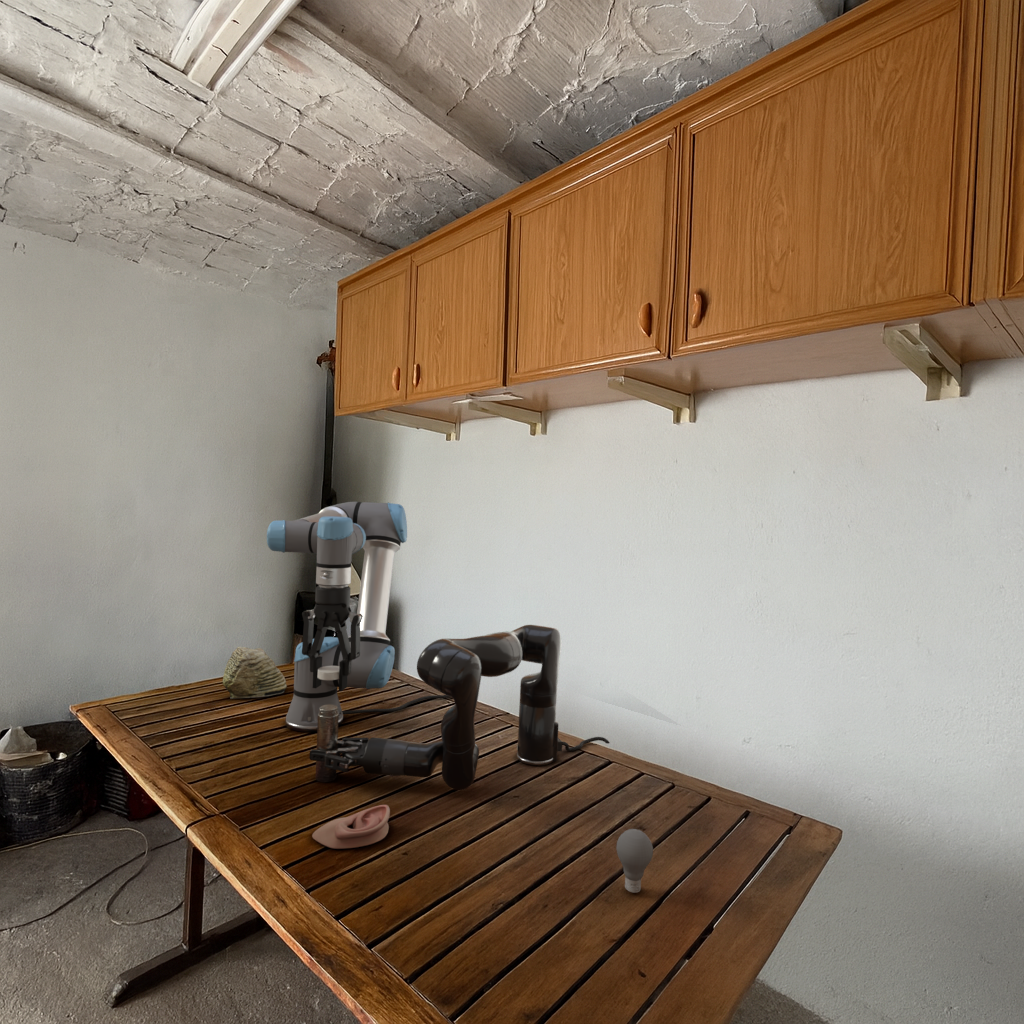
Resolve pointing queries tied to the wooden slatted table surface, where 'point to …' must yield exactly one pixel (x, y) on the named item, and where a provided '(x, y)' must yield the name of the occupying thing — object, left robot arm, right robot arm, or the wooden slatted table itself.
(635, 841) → the light bulb
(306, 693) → the left robot arm
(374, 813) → the anatomical model
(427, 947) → the wooden slatted table surface
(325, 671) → the lid
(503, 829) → the wooden slatted table surface
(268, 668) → the fossil
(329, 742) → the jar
